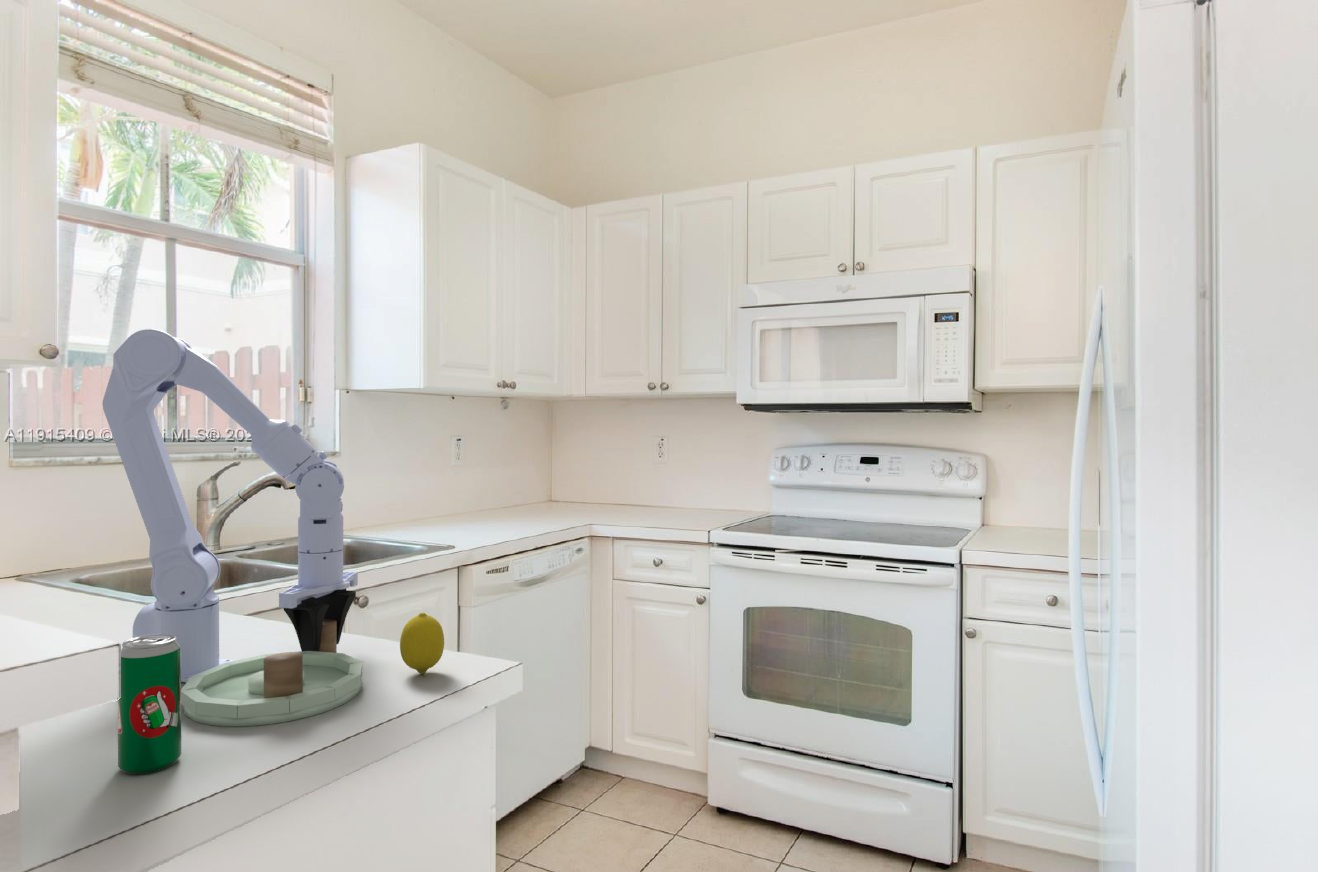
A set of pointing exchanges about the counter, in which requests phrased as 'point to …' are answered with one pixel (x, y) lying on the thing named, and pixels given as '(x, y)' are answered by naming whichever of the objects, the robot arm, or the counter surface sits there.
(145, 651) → the soda can
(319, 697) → the tray
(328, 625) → the bead
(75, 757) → the counter surface
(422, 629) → the lemon
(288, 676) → the bead
